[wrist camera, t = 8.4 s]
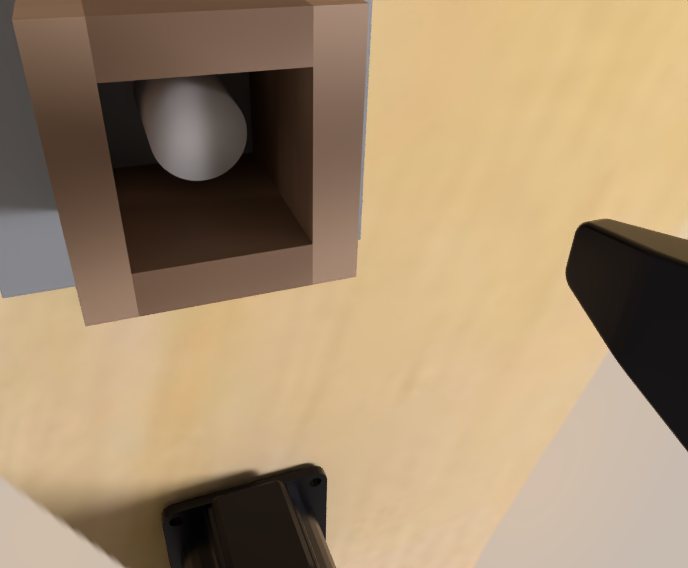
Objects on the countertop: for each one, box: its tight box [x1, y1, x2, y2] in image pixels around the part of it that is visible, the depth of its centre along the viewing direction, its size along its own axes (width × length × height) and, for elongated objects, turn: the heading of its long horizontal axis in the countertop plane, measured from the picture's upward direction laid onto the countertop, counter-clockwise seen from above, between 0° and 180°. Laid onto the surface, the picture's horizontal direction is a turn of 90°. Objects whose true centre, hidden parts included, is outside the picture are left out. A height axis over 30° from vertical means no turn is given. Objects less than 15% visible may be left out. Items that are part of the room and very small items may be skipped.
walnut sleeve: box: [12, 0, 369, 326], centre depth 14 cm, size 6×6×5 cm
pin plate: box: [0, 0, 372, 298], centre depth 15 cm, size 10×10×4 cm
